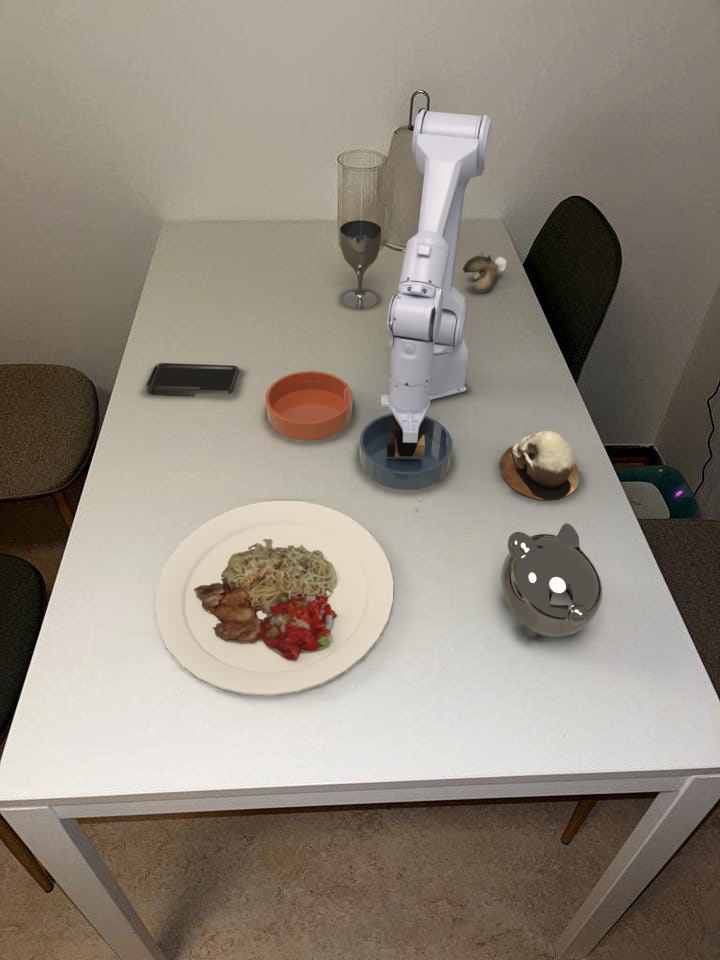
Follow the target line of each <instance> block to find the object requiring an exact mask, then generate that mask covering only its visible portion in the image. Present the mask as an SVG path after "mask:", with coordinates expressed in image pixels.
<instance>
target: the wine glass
mask: <svg viewBox="0 0 720 960" xmlns="http://www.w3.org/2000/svg"><path fill="white" fill-rule="evenodd" d="M339 242H340V243H339V244H340V249H341V253H342V256H343V259H344V261H346V263H347V264H348V265H349V266H350V268H352V269H353V271H354V272H355V274H356V278H357V290H355V291H354V290H353V291H351V292H348V293H346V294H344V296H343V297H342V302H343V304H344V305H345V306H347V307H348V308H351V309H358V310H359V309H361V310H362V309H368V308H372V307H374V306H375V305H376V304H377V302H378V298H377V296H376V295H375V293H372V292H370V291H366V290H363V280H364V276H365V273H366V271H367V270H368V269H369V268H370V267H371V266H372V265H373V264H374V263H375V262H376V261H377V258H378V256H379V252H380V249H381V243H382V228H381V226H380V225H379V224H377V223H376V222H373V221H369V220H362V219H361V220H359V219H357V220H351V221H348V222H347V221H346V222H345V223H342V224H341V225H340V227H339Z"/></svg>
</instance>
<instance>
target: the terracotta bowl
mask: <svg viewBox="0 0 720 960" xmlns="http://www.w3.org/2000/svg"><path fill="white" fill-rule="evenodd" d="M265 406H266V415H267V420H268V422H269V424H270V426H271V427H272V428H273V429H274V430H275V431H276V432H277V433H279V434H281V435H283V436H285V437H287V438H290V439H293V440H298V441H299V440H301V441H317V440H323V439H326V438H329V437H332V436H334V435H336V434H338V433H340V432H341V431H343V430H344V429H345V428H346V427H347V426H348V425H349V423H350V422H351V420H352V415H353V393H352V389H351V388H350V386H349V384H348V383H347V382H346V381H344V380H343V379H342V378H341V377H339V376H336V375H334V374H332V373H328V372H324V371H315V370H305V371H303V370H302V371H298V372H293V373H289V374H287V375H285V376H282V377H280V378H279V379H277V380H275V381H274V382H273V383H272V384H271V385H270V386H269V387H268V389H267V392H266V394H265Z"/></svg>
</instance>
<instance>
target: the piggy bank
mask: <svg viewBox="0 0 720 960" xmlns="http://www.w3.org/2000/svg"><path fill="white" fill-rule="evenodd" d="M507 550H508V553H507V555H506V556H505V558H504V561H503V564H502V568H501V574H500V576H501V577H500V581H501V588H502V593H503V596H504V599H505V602H506V604H507V605H508V608H509V610H510V612H511V613H512V615H513V616H514V617H515V618H516V619H517V621H518V622H519V623H520V625H521V626H520V630H521V631H520V632H521V634H522V635H523V636H524V638H528V639H532V638H535V636H537V635H541V636H543V637H548V638H549V637H550V638H562V637H567V636H571V635H573V634H575V633H577V632H579V631H581V630H582V629H584V628H585V627H586V626H588V625H589V624H590V623H591V621H593V619H594V618H595V617H596V615H597V614H598V611H599V609H600V608H601V604H602V599H603V585H602V580H601V577H600V574H599V572H598V570H597V568H596V566H595V565H594V563H593V562H592V560H591V559H590V558H589V556H588V555H587V554H586V553H585V552H584V551H583V549H581V547H580V536H579V534H578V532H577V530H576V529H575V527H574V526H572V525H571V524H570V523H564V524H563V525H561V527H560V529H559V531H558V533H557V535H556V534H551V533H539V534H538V533H537V534H534V535H531V536H530V535H529V534H527V533H525V532H522V531H515V532H513V533H511V534H510V536H509V538H508V539H507Z"/></svg>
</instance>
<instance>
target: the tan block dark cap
mask: <svg viewBox="0 0 720 960" xmlns="http://www.w3.org/2000/svg"><path fill="white" fill-rule="evenodd" d="M424 450H425V439H424V435H423V436H422V437H421V438H420V440H419V442H418V444H417V447H416V450H415V452H414V454H413V456H399V453H398V449H397V443H396V439H395V436H394V435H393V433H387V457H424Z"/></svg>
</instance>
